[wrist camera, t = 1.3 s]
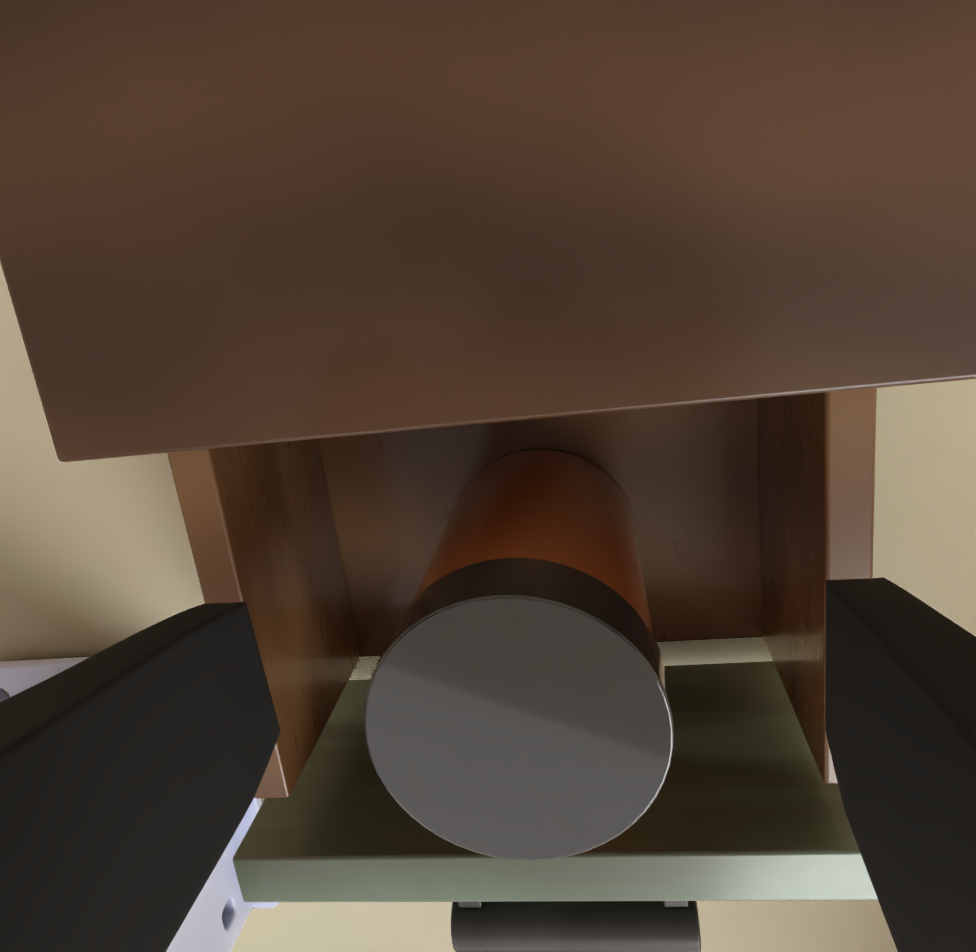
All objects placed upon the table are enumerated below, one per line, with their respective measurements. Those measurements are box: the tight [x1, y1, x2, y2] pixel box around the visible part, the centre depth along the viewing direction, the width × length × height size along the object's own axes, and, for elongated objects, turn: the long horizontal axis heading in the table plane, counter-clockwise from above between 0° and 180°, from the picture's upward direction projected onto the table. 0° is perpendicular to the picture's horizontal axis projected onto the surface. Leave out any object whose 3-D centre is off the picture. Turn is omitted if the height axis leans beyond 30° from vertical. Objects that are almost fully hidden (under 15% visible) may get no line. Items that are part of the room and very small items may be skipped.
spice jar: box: [364, 449, 674, 861], centre depth 16 cm, size 5×5×8 cm
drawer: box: [168, 388, 878, 952], centre depth 18 cm, size 17×13×7 cm
